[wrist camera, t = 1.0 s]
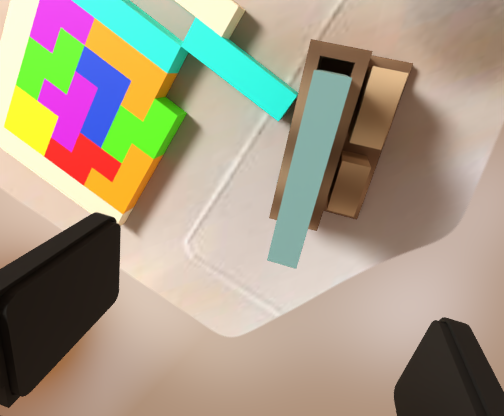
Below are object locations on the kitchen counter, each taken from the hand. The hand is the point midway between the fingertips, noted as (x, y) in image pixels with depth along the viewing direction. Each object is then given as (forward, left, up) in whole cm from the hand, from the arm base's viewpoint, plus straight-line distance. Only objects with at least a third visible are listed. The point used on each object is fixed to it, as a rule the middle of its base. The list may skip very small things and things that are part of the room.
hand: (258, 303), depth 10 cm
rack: (0, +2, -28) cm, 28 cm away
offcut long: (-4, +4, -27) cm, 28 cm away
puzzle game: (+1, -21, -29) cm, 36 cm away
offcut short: (+3, +4, -27) cm, 28 cm away
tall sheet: (0, 0, -27) cm, 27 cm away
